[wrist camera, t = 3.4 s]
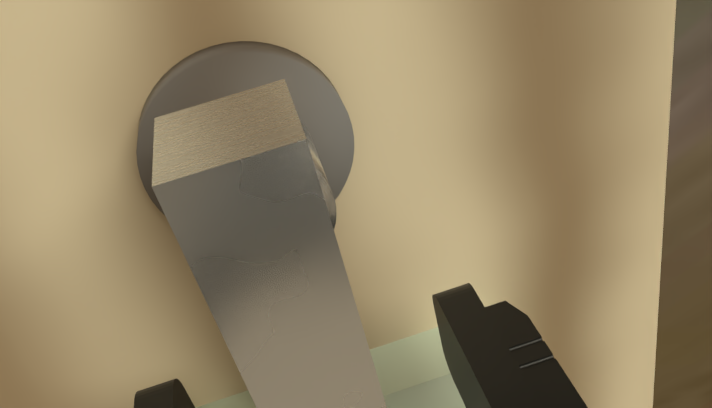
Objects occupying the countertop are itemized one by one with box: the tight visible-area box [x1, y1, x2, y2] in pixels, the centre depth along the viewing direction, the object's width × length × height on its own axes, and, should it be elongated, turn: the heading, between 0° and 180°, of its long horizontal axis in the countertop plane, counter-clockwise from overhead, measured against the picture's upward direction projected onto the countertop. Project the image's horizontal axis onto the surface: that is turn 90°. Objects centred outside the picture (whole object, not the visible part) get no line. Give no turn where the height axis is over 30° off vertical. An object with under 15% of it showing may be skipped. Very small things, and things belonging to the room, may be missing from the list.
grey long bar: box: [152, 79, 387, 408], centre depth 13 cm, size 2×10×4 cm, turn 13°
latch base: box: [0, 0, 676, 408], centre depth 17 cm, size 18×21×4 cm
